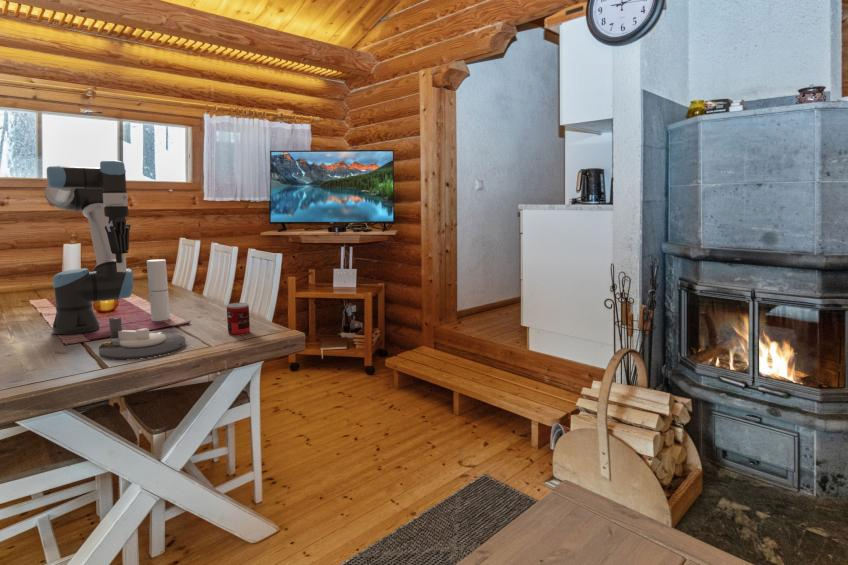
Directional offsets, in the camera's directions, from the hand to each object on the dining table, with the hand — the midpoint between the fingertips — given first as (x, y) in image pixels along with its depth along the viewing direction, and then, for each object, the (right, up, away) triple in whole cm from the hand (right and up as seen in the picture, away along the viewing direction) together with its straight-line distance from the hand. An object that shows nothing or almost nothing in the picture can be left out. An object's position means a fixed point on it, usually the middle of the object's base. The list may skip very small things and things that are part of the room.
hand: (121, 271), depth 192 cm
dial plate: (+13, -26, -10) cm, 31 cm away
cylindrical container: (-2, -20, +33) cm, 38 cm away
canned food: (+39, -23, +10) cm, 46 cm away
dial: (+11, -24, -10) cm, 29 cm away
